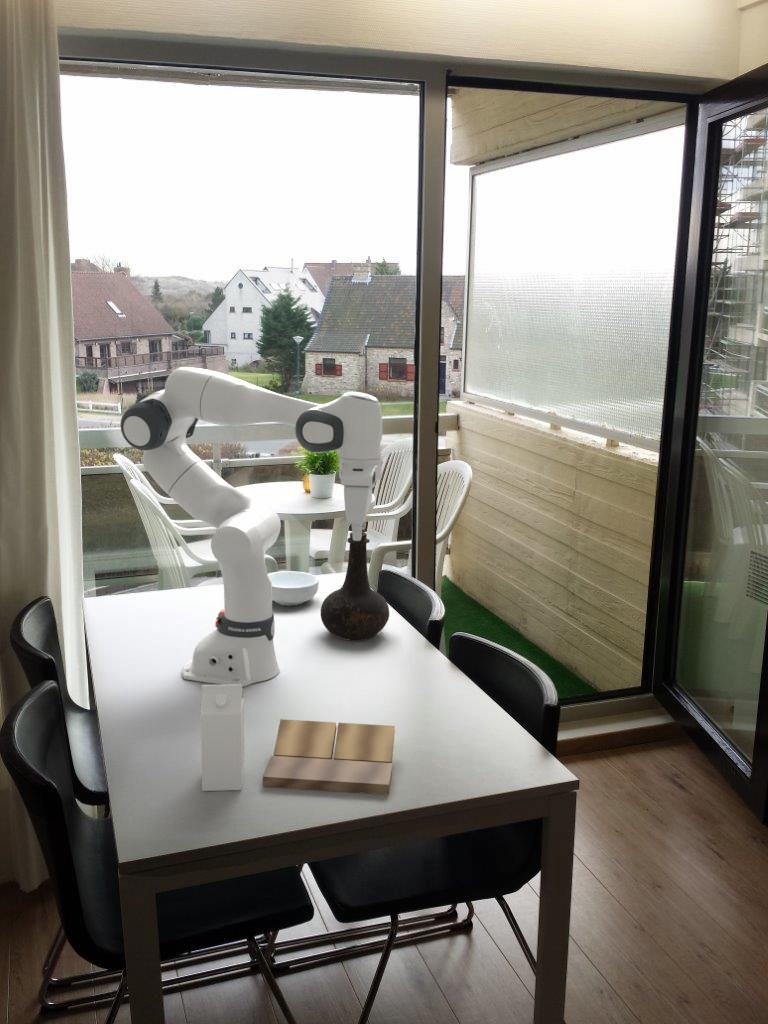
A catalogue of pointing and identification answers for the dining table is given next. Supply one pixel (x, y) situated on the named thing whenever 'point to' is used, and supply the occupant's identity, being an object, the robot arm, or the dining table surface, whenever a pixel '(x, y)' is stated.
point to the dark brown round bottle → (355, 600)
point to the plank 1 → (305, 739)
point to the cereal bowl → (293, 587)
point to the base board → (328, 775)
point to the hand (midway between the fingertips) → (359, 534)
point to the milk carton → (222, 737)
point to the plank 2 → (364, 742)
